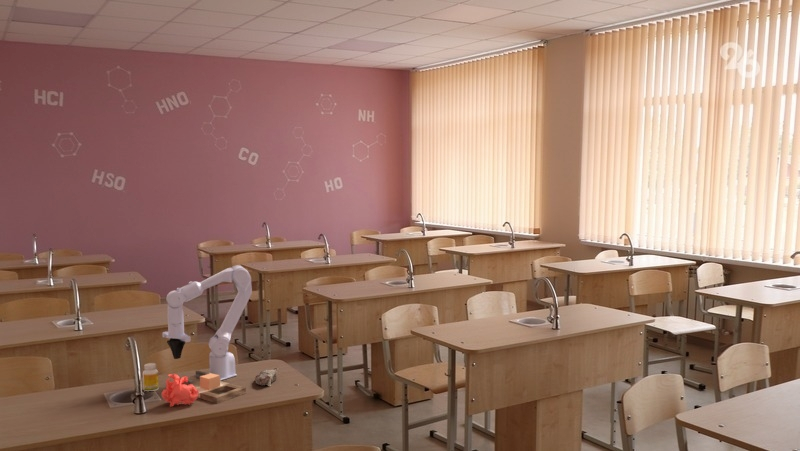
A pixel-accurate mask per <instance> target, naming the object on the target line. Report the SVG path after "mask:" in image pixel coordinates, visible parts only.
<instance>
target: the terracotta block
mask: <svg viewBox="0 0 800 451" xmlns="http://www.w3.org/2000/svg"><path fill="white" fill-rule="evenodd" d="M209 373H210V372H209ZM217 387H220V375H216V374H212V373H210V374H207V375H203V376H200V388H204V389H208V390H210V389H213V388H217Z"/></svg>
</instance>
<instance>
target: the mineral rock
mask: <svg viewBox="0 0 800 451" xmlns="http://www.w3.org/2000/svg"><path fill="white" fill-rule="evenodd" d="M254 381H255V384H256V385H259V386H267V387H269V388H270V387H271V386H272V383H273V382H274V381H277V369H263V370H261V371H260V372H258V373H257V375H255V377H254Z"/></svg>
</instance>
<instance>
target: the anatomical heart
mask: <svg viewBox="0 0 800 451" xmlns="http://www.w3.org/2000/svg"><path fill="white" fill-rule="evenodd" d="M167 376H168V378H166V381H165V382H166V383H165V384H166V386H165V388H164V389H163V390H162V392H161V397H162V399H163V400H164V401H166V402H167V403H168V404H169V407H170V408H172V407H174V406H175V405H177V406H179V405H180V404H181V403H182V405H185V406H186V405H189V406H190V405H192V404H193V403H194V402H195V400H198V398H197V396H198V392H199V391H198V390H197V389H196V387H194V386H193V384H189V385H188V386H187V385H185V384H183V385H181V383H184V382H188V379H187V378H188V377H189V376H186V375H184V376H182V377H181V379H179V378H180V376H179V375H178V374H176V373H173V374H171V373H170V374H168V375H167ZM171 379H172V380H173V381H170V380H171ZM171 385H172V386H171ZM190 390H191V392H190Z"/></svg>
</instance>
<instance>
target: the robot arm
mask: <svg viewBox="0 0 800 451" xmlns="http://www.w3.org/2000/svg"><path fill="white" fill-rule="evenodd" d="M223 282H224V283H225V282H227V283H234V285H235V287H236V290H237V293H236V295H235V298H234V300H233V302H231V303H232V304H231V305H230V308H228V311H227V313H226V315H225V317H224V319H223V321H222V323H221V324H220V327H219V328H218V329H217V331H216V332H215V334H214V335H213V336H212V337H210V339H209V340H208V347H209V349H210V352H209V353H208V359H209V360H208V361H209V364H208V366H209V373H212V374H216V375H220V381H223V380H226V379H231V378H233V377H235V376H236V377H237V376H238V374H237V373H236V359H235V356H234V354H233V353H232V352H230V351H229V344H230V341H231V339H232V338H231V337H232V334H233V332H234V330H235V328H236V326H237V324H238V322H239V320H240V318H241V316H242V315H243V313H244V310H245V309H246V306H247V304H248V302H249V300H250V298H251V296H252V294H253V287H252V276H251V274H250V272H249V270H247V269H246V268H244V267H243V266H242V265H241V264H238V265H237V264H236V265H233V266H232V267H228V268H225V269H223V270H221V271H220V272H217V273H216V274H213V275H211V276H210V277H208V278H206V279H204V280H202V281H189V282H188V284H185V285H183V286H182V287H177V288H176V290H171V291H170V292H168V294H166V298H165V300H166V303H167V306H166V307H167V312H166V314H167V328H168V329H167V331H163V332H162V333H161V334H162V338H166V339H169V340H167V341H166V343H167V346H168V347H169V348H170V351H171V354H172V358H173V359H175V360H178V359H181V358H182V353H183V349H184V347H185V344H186V343H190V342H191V341H192V339H191V338H192V337H191V336H190V335H188V334H187V333H185V321H184V315H185V314H184V308H183V304H184V303H187V302H189V301H192V300H193V299H195V298H197V297H200V296H201V295H203V292H204V290H206V289H209V288H212V287H215V286H216V285H219V284H221V283H223Z"/></svg>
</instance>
